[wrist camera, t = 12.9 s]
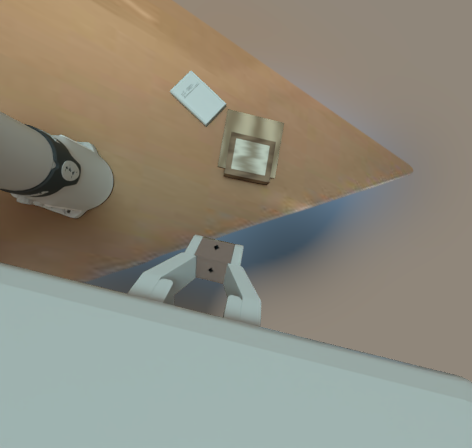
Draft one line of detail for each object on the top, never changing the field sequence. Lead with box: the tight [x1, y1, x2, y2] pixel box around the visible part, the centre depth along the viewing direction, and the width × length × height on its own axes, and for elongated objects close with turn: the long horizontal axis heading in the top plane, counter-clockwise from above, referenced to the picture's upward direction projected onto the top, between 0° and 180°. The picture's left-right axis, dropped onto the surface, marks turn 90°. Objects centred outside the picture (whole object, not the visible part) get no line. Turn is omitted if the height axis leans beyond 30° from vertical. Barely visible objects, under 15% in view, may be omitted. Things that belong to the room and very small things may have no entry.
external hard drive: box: [170, 71, 226, 127], centre depth 46 cm, size 2×8×12 cm
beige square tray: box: [218, 109, 284, 179], centre depth 47 cm, size 16×16×1 cm
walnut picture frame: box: [224, 132, 276, 185], centre depth 45 cm, size 12×3×11 cm
